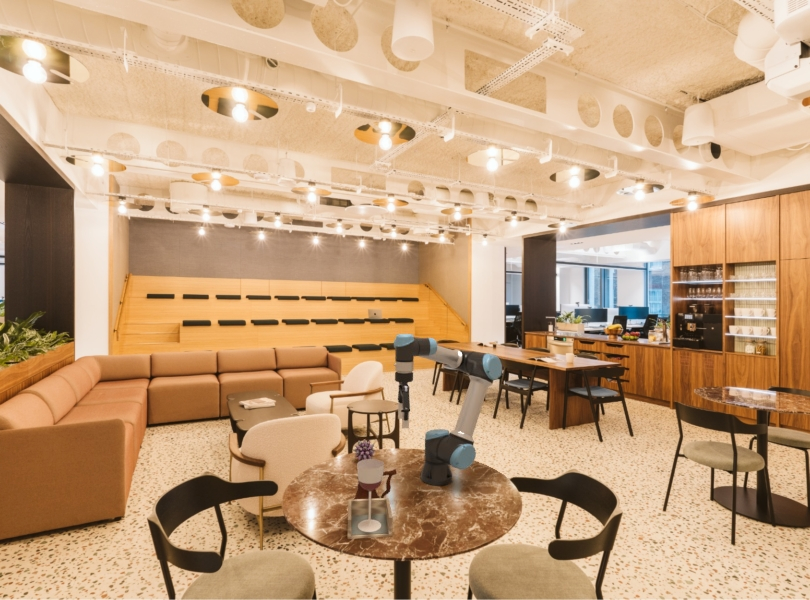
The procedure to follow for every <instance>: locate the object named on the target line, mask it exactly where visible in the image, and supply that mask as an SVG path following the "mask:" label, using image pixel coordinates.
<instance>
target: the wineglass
mask: <svg viewBox="0 0 810 600" xmlns="http://www.w3.org/2000/svg"><path fill="white" fill-rule="evenodd" d="M384 468H385V462H384V461H383V460H380V459H376V458H371V459H365V460H363V459H362V460H360V461H358V462H357V463H356V472H357V481H358V480H359V484H360V486H361V487H362V488H364V489H366V490H368V491H369V516H368V520H364V521H361V522H360V523H359V524H358V528H359V529H360V530H362V531H365V532H373V531H377V530H378V529H380V527H381V523H380V522H378V521H376V520H371V491H372V490H374V489H376V490H377V489H378V488H379V487H380V486H381V484H382V481H383V477H384V476H383V472H385V471H384Z"/></svg>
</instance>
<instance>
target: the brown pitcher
mask: <svg viewBox="0 0 810 600" xmlns="http://www.w3.org/2000/svg"><path fill="white" fill-rule="evenodd" d="M393 475H394V476H395V475H397V469H395V468H394V469H392V470H389V471H387V470H386V471H383V477H384V476H387V479H386V481H385V487H386V488H385V491H383V492H382V494H381V496H379V494H378V493H377V488H376V489H374V490H372V491H371V499H376V498H385V497H386V495H388V494H389V493H390V492H391V489H392V488H391V487H392V486H391V480H392V477H393ZM357 481H358V483H357V488H356V489H357V490H356V493H355V497H354V498H353V499H352V500H354V499H369V491H368V490H366V489H364V488H362V487H361V486H360V484H359V480H358V479H357Z"/></svg>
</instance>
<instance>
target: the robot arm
mask: <svg viewBox="0 0 810 600" xmlns="http://www.w3.org/2000/svg"><path fill="white" fill-rule="evenodd" d="M393 348H394V349H395V351H394V352H395V353H394V354H395V357H394V358H395V363H393V366H394V370H395V373H394V381H395V382H397V383H398V394H397V402H398V403H397V404H398V405H397V409H398V410H397V414H398V415H397V419H398V420H401V429H410V412H411V405H410V386H409V385H408V383H412V382H413V381H414V372H413V371H414V364H415V363H414V359H415V357H420V358H422V359H427V360H430V361H433V362H437V363H441V364H444V365H448V366H449V367H450V368H452V369H454V370H457V371H460V372H463V373H465V374H467V375H468V378H469V385H468V388H467V390H466V393H465V397H464V400H463V403H462V405H461V408H460V412H459V415H458V418H457V421H456V424H455V426H454V429H453V430H452V431H449V430H448V429H443V428H442V429H441V428H438V429H429V430H428V431H426V433H425V434H424V435H425V437H424V463H423V466H422V469H421V472H420V480H421V481H422V482H423V483H425V484H427V485H431V486H445V485H449V484H450V483H452V481H453V473H452V469H451V467H453V468H454V469H458V470H467V468H469V467H471V466H472V464H473V463H474V462H475V459H476V455H477V453H476V448H475V447H474V444H475V440H474V437H473V435H474V432H475V429H476V426H477V422H478V421H479V420H478V419H479V418H480V417H479V416H480V413H481V410H482V407H483V404H484V400H485V397H486V394H487V392H488V389H489V388H490V387H491V386H492V385H493V383H494V381H495V380H498V379H499V378H501V377H502V373H503V364H502V361H501V359H500V358H499V356H498V355H496V354H491V353H489V352H488V353H486V352H478V351H472V350H461V349H457V348H455V349H450V348H447V347H444V346H440V345H438V342H437V340H436V339H434V338H433V337H417V336H414V334H410V333H400V334H397V335H396V336H395V338H394V341H393Z"/></svg>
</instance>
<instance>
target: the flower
mask: <svg viewBox="0 0 810 600" xmlns="http://www.w3.org/2000/svg"><path fill="white" fill-rule="evenodd" d="M357 442H358V443H357V444H358V445H356V444H355V445H354V447H356V448H354V449H353V452H354V454H355V455H354V458H358V460H357V461H358V462H359V461H361V460H365V459H372V457H373V458H375V455H374V454H375V452H376V449H374V447H375V443H371V440H368V441H366V438H365V439H363V440H362V441H361V440H358V441H357Z"/></svg>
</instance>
